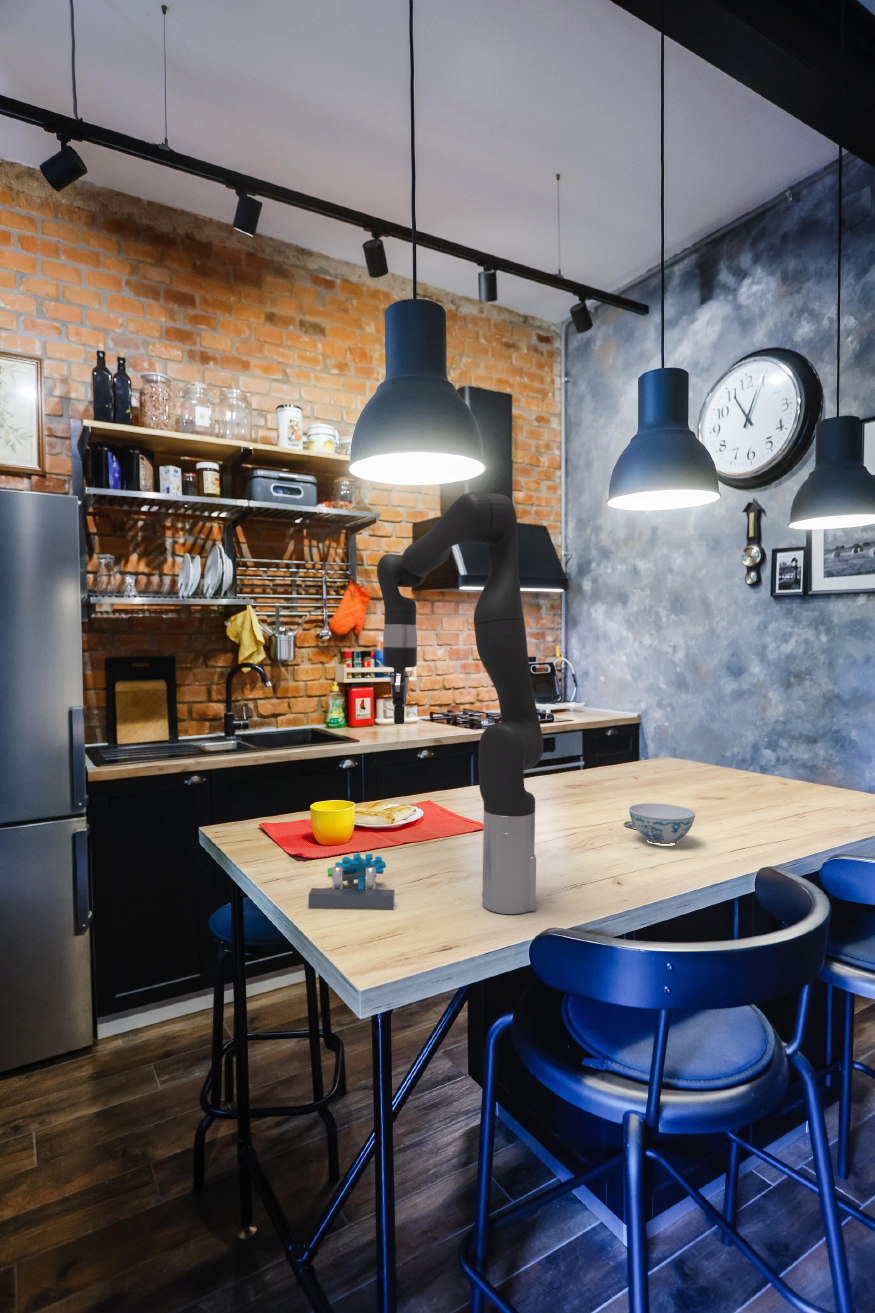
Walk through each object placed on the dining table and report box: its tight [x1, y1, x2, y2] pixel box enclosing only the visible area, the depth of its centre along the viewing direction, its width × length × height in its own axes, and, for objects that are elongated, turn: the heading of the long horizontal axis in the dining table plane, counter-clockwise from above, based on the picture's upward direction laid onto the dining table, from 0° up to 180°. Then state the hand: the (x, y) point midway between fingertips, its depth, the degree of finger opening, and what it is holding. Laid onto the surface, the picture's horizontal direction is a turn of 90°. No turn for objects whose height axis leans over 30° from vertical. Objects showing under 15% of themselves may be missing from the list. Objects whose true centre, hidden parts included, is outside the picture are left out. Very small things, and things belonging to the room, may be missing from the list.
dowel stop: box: [308, 865, 396, 911], centre depth 129 cm, size 15×5×6 cm, turn 89°
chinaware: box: [628, 802, 696, 844], centre depth 171 cm, size 15×15×8 cm
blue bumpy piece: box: [327, 853, 387, 889], centre depth 136 cm, size 11×6×10 cm
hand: (399, 723), depth 159 cm, fingers closed
